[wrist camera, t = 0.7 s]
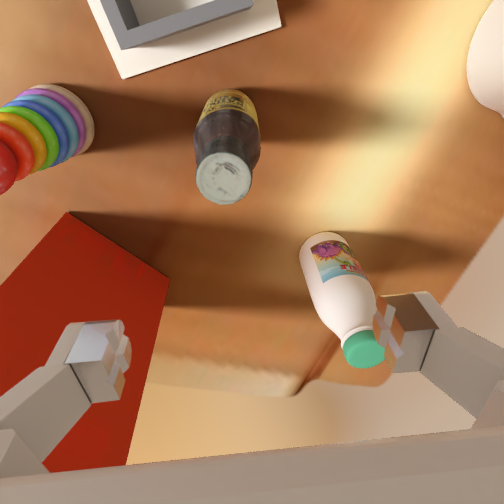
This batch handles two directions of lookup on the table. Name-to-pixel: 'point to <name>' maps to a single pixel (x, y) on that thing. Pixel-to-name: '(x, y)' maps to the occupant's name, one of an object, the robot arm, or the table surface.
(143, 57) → the mount collar
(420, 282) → the table surface
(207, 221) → the table surface
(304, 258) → the milk bottle
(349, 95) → the table surface
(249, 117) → the sauce bottle
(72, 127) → the stacking toy
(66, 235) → the tall red box
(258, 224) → the table surface
